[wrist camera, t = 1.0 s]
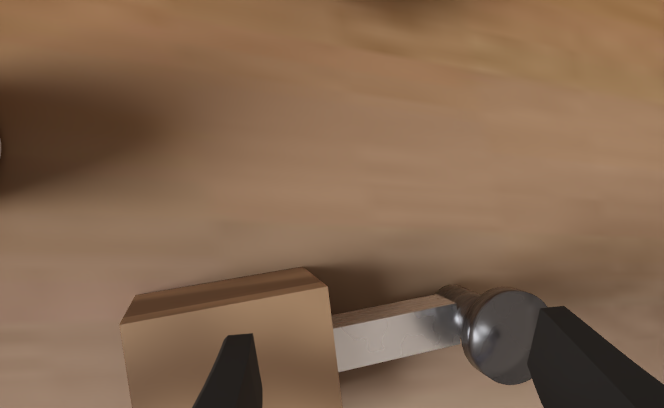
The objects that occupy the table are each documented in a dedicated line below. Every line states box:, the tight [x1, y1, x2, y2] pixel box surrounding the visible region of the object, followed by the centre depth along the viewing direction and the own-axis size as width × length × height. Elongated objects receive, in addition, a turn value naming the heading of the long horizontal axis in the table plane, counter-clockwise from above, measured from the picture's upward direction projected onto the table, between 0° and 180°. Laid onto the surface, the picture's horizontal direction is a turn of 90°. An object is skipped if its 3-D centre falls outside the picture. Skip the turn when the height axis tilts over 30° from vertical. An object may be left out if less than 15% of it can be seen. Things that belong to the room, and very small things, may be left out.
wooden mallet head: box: [119, 267, 343, 408], centre depth 22 cm, size 7×8×5 cm
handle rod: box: [331, 285, 548, 385], centre depth 22 cm, size 4×18×6 cm, turn 97°
